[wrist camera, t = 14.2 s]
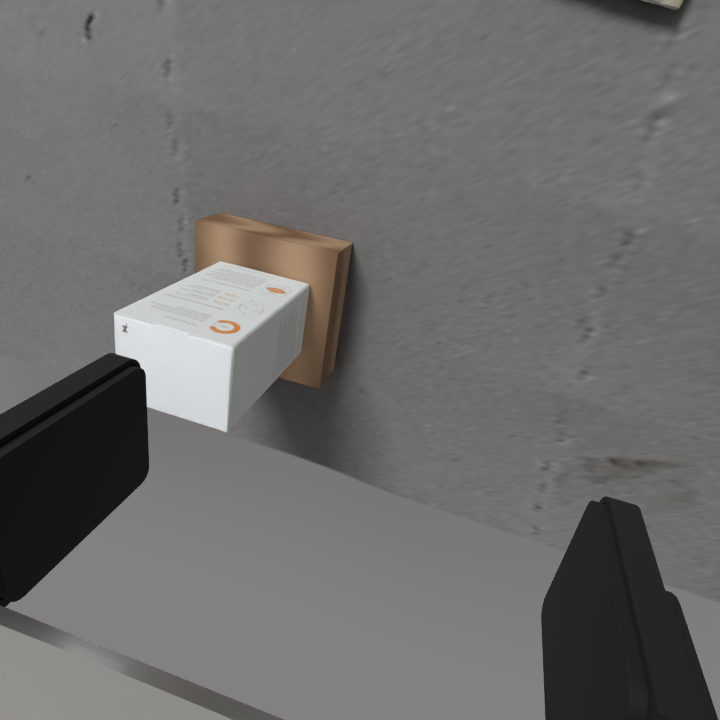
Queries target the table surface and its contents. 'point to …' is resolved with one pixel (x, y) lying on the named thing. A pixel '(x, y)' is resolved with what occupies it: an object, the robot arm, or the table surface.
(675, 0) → the decorative slab
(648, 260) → the table surface
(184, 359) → the small box
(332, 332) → the walnut base
